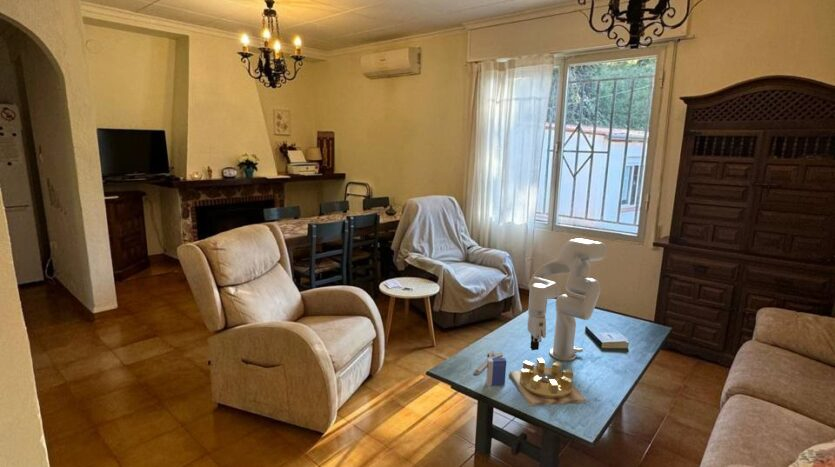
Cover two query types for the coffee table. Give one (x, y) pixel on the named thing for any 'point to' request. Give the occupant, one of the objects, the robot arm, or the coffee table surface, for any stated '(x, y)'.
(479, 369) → the adjustable wrench
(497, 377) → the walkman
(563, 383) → the bevel gear
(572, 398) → the base plate
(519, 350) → the coffee table surface
